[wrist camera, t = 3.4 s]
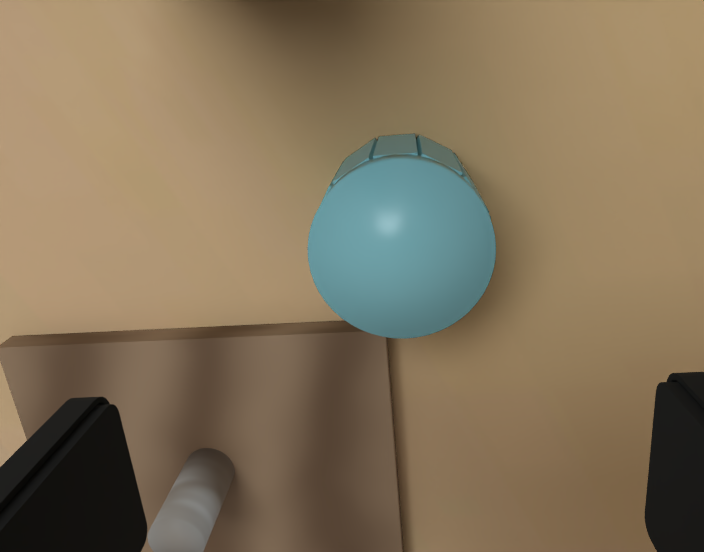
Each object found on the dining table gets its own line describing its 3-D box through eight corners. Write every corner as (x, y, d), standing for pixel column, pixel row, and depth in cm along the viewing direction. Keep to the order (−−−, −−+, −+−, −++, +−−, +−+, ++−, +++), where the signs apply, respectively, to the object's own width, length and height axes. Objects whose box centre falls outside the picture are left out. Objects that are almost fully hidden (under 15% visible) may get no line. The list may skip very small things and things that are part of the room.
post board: (385, 318, 26) (381, 387, 21) (404, 558, 31) (404, 664, 26) (12, 336, 28) (-81, 403, 23) (84, 559, 33) (21, 658, 28)
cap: (473, 128, 23) (495, 153, 17) (475, 271, 25) (496, 334, 19) (322, 141, 24) (296, 167, 18) (337, 279, 26) (318, 342, 20)
